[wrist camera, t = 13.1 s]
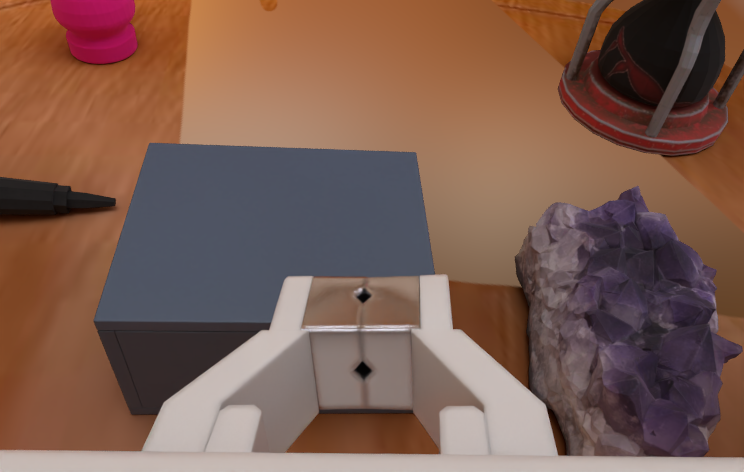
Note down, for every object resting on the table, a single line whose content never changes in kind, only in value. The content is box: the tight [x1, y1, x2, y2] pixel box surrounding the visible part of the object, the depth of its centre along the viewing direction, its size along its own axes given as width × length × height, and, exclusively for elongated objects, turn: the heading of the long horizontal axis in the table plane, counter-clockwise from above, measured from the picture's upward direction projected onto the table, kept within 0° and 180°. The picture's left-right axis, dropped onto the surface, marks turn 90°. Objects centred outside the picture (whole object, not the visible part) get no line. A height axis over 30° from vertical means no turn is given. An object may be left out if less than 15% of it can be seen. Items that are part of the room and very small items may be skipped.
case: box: [98, 330, 413, 414], centre depth 38 cm, size 13×17×8 cm
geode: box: [515, 186, 743, 457], centre depth 37 cm, size 20×12×10 cm, turn 177°
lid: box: [94, 143, 435, 331], centre depth 35 cm, size 13×17×1 cm
